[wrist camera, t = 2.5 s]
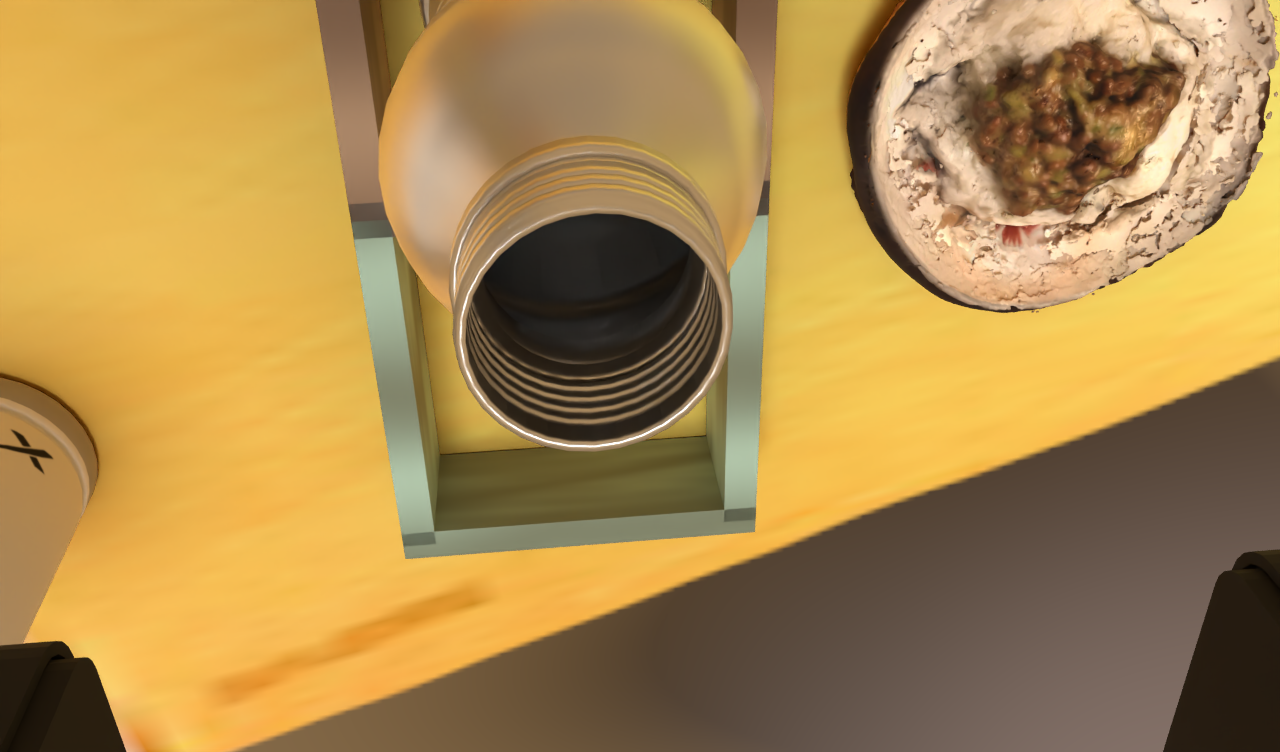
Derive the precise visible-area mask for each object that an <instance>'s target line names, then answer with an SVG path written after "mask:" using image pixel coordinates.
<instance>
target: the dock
mask: <svg viewBox="0 0 1280 752" xmlns="http://www.w3.org/2000/svg"><path fill="white" fill-rule="evenodd" d="M315 1H316V7H317V13H318V19H319V25H320V32H321V38H322V44H323V50H324V56H325V63H326V69H327V75H328V81H329V87H330V93H331V100H332V106H333V112H334V118H335V124H336V131H337V137H338V143H339V149H340V155H341V162H342V168H343V174H344V180H345V186H346V193H347V199H348V205H349V211H350V217H351V224H352V230H353V236H354V242H355V248H356V255H357V261H358V267H359V273H360V279H361V286H362V292H363V298H364V304H365V310H366V317H367V323H368V329H369V335H370V341H371V348H372V354H373V360H374V366H375V372H376V378H377V385H378V391H379V397H380V403H381V409H382V416H383V422H384V428H385V434H386V440H387V447H388V453H389V459H390V465H391V471H392V478H393V484H394V490H395V496H396V502H397V509H398V515H399V521H400V527H401V533H402V540H403V546H404V552H405V558H406V559H413V558H425V557H438V556H451V555H464V554H477V553H490V552H503V551H516V550H529V549H541V548H554V547H567V546H580V545H593V544H606V543H619V542H632V541H645V540H657V539H670V538H683V537H696V536H709V535H722V534H735V533H748V532H755V517H756V494H757V470H758V447H759V424H760V400H761V377H762V354H763V330H764V307H765V284H766V260H767V237H768V214H769V190H770V167H771V144H772V120H773V97H774V74H775V50H776V27H777V4H778V0H712V14H713V15H714V17H715V18H716V19H717V20H718V21H719V22H720V23H721V24H722V26H723V27H724V28H725V30H726V31H727V32H728V34H729V35H730V36H731V38H732V39H733V40H734V42H735V43H736V44H737V46H738V47H739V48H740V50H741V51H742V52H743V54H744V56H745V59H746V61H747V63H748V65H749V67H750V70H751V72H752V74H753V76H754V78H755V80H756V83H757V85H758V87H759V91H760V96H761V100H762V105H763V109H764V114H765V118H766V123H767V165H766V170H765V175H764V181H763V186H762V192H761V197H760V202H759V206H758V211H757V215H756V218H755V221H754V223H753V226H752V228H751V231H750V233H749V236H748V238H747V241H746V243H745V246H744V248H743V250H742V252H741V253H740V255H739V256H738V258H737V259H736V261H735V263H734V264H733V266H732V267H731V269H730V271H729V272H728V274H727V277H728V280H729V284H730V288H731V292H732V301H733V329H732V335H731V340H730V346H729V351H728V354H727V356H726V359H725V361H724V364H723V366H722V369H721V371H720V374H719V375H718V377H717V378H716V380H715V382H714V383H713V385H712V386H711V388H710V389H709V391H708V392H707V402H706V436H701V437H687V438H673V439H659V440H645V441H640V442H637V443H634V444H631V445H628V446H625V447H621V448H616V449H609V450H602V451H595V452H592V451H566V450H561V449H556V448H551V447H547V448H533V449H519V450H505V451H491V452H477V453H463V454H449V455H440V451H439V443H438V436H437V428H436V421H435V413H434V406H433V398H432V391H431V383H430V376H429V368H428V361H427V353H426V346H425V338H424V331H423V323H422V316H421V308H420V301H419V293H418V286H417V278H416V272H415V271H414V269H413V268H412V266H411V265H410V263H409V261H408V260H407V258H406V256H405V254H404V252H403V251H402V249H401V247H400V245H399V243H398V240H397V238H396V236H395V233H394V231H393V229H392V226H391V224H390V222H389V219H388V217H387V215H386V211H385V206H384V201H383V197H382V192H381V187H380V182H379V136H380V131H381V126H382V122H383V117H384V112H385V108H386V103H387V100H388V98H389V95H390V93H391V91H392V90H391V83H390V75H389V68H388V60H387V53H386V45H385V38H384V30H383V23H382V15H381V8H380V0H315Z"/></svg>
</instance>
